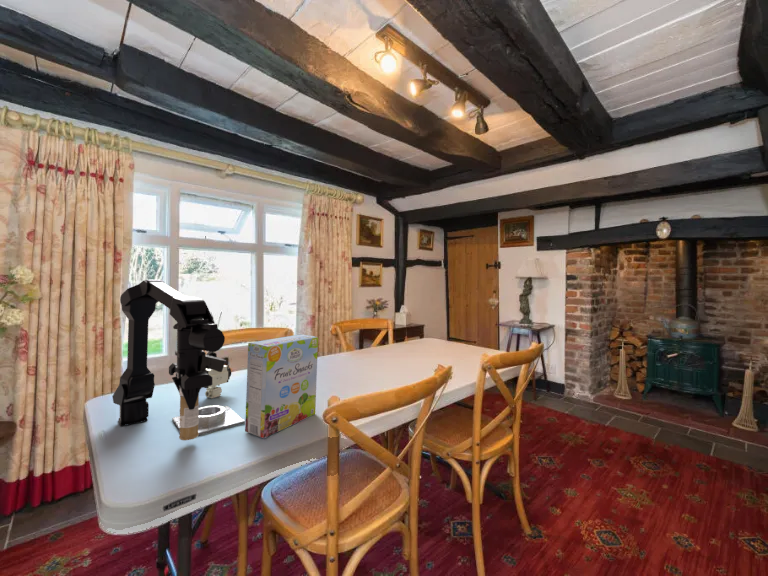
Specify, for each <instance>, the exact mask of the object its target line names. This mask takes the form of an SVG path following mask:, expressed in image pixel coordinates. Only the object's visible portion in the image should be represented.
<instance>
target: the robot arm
mask: <svg viewBox="0 0 768 576" xmlns="http://www.w3.org/2000/svg"><path fill="white" fill-rule="evenodd" d="M119 299H120V305H121V311H122V313H123V314H124V315H125V317H126V318H127V320H128V325H127V326H128V327H127V328H128V329H127V331H128V332H127V358H126V359H127V360H126V364H127V367H126V369H125V370H124V371H123V372H122V374H121V376H120V378H119V385H118V386H117V387H116V390H115V391H114V393H113V394H112V402H113V404H115V405H118V406H119V418H118V423H119V425H120V427H125V426H129V425H133V424H140V423H143V422H147V421H148V418H149V402H148V401H147V399H152V398H153V394H154V390H155V374H154V373H152V371H150V369H149V368H148V349H149V348H148V346H149V345H148V344H149V340H148V339H149V321H150V319H151V317H152V316H153V315H154V313H155V311H156V306H157V304H158V303H160V304H162V305H163V306H165V307H166V308H167V309H168V310H169V315H170V316H171V317H172V318H173V319H174V320H175V322H176V323H175V324H174V325H173V326H172V329H174V330H176V331H177V332H176V350H175V351H174V355H175V356H176V362H172V363H171V364H170V365H169V366H168V374H169V375H170V376H173V377H171V379H172V381H173V383H174V385H175V387H176V390H177V391H178V392H179V391H180V389H181V392H182V394H183V396H184V399H185V401H186V403H187V406H188V408H189V410H192V409H194V407H195V404H196V401H197V398H198V395H199V394H200V391H201V389H204V388H203V387H206V386H211V385H212V377H211V376H210V375H209V374H207V373H206V372H205V371H206V369H211V370H216V371H218V372H222V370H223V367H224V365H226V362H227V360H226V359H224V358H223V357H219V356H218V355H217V352H218V351H220V350H221V348H222V347H223V346H224V344H225V340H226V337H225V335H224V333H223V331H222V330H221V329H218V323H215V321H214V316H213V315H212V314H211V311H210V309H209V306H208V305H207V303H206V301H205V300H204V299H202V298H200V297H196V296H189V295H185V294H183V293H181V292H180V291H178V290H176V289H175V288H173V287H172V286H170V285H168V284H166V282H165V281H164V280H162V279H145V280H142V281H141V282H140V283H138V284H136V285H133V286H131V287H128V288H127V289H126V290H125V291H124V292H123V293H121V295H120V298H119ZM206 352H208V353H206ZM199 371H201V372H199ZM202 371H204V372H202ZM174 374H175V376H174Z"/></svg>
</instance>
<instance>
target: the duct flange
mask: <svg viewBox="0 0 768 576" xmlns="http://www.w3.org/2000/svg"><path fill="white" fill-rule="evenodd" d="M172 422H173V424H174V425H175V426H176V428H177V430H179V432H180V415H179V416H173V417H172ZM242 425H245V419H243V418H242V417H241V416H240V415H239V414H238V413H237V412H235V411H234V409H232V408H230V406H228V405H225V406H222V405H206V406H201V407H199V423H198V433H199V435H198V436H197V437H199V436H202V435H206V434H210V433H214V432H218V431H221V430H225V429H229V428H232V427H236V426H242Z"/></svg>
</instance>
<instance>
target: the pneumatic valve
mask: <svg viewBox="0 0 768 576" xmlns="http://www.w3.org/2000/svg"><path fill="white" fill-rule="evenodd" d="M199 372H201V371H199ZM202 372H204V371H202ZM205 372H206V373H207V374H209V375H210V376H211V377H212V385H211V386H206V387H203V388H202V389H205V390H206V391H205V392H204V394H205V395H204V396H205V397H206V398H208V399H215V398H218V397H221V396H222V391H223V389H222V387H221V385H224V384H226V383H229V380H230V377H231V376H232V369H231V368H230V365H227V364H225V365H224V367H223V370H222V372H218V371H216V370H211V369H206V371H205Z"/></svg>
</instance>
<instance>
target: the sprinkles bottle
mask: <svg viewBox="0 0 768 576" xmlns="http://www.w3.org/2000/svg"><path fill="white" fill-rule="evenodd" d="M178 394H179V400H180V401H179V416H180V431H179V436H178V439H179V440H180V441H191V440H194V439H195V438H196V439H197V438H198V437H199V436H200V435H199V433H198V423H199V408H200V404H199V403H200V402H199V398H200V397H199V395H198V398H197V401H196V404H195V407H194V409H192V410H189V408H188V406H187V403H186V401H185V399H184V396H183V394H182V392H181V389H180V391H178ZM198 435H199V436H198Z"/></svg>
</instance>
